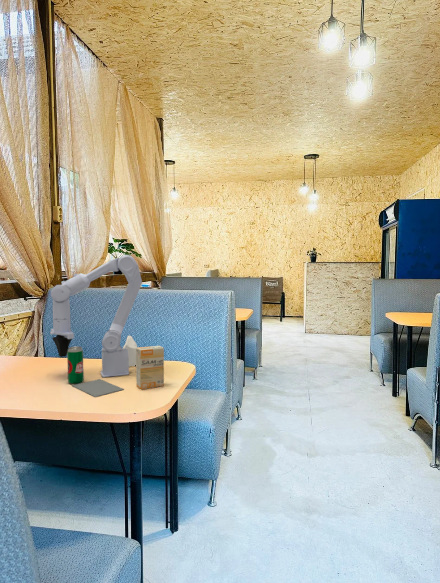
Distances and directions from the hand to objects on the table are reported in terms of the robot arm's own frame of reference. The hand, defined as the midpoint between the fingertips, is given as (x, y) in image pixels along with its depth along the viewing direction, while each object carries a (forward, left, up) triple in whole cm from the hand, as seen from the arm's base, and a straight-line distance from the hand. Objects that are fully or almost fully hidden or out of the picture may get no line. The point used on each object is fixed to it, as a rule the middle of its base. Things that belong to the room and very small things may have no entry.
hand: (62, 356), depth 142 cm
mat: (-10, +18, -7) cm, 22 cm away
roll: (-25, -7, -8) cm, 27 cm away
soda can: (-4, +9, -8) cm, 12 cm away
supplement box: (-27, +23, -8) cm, 36 cm away
